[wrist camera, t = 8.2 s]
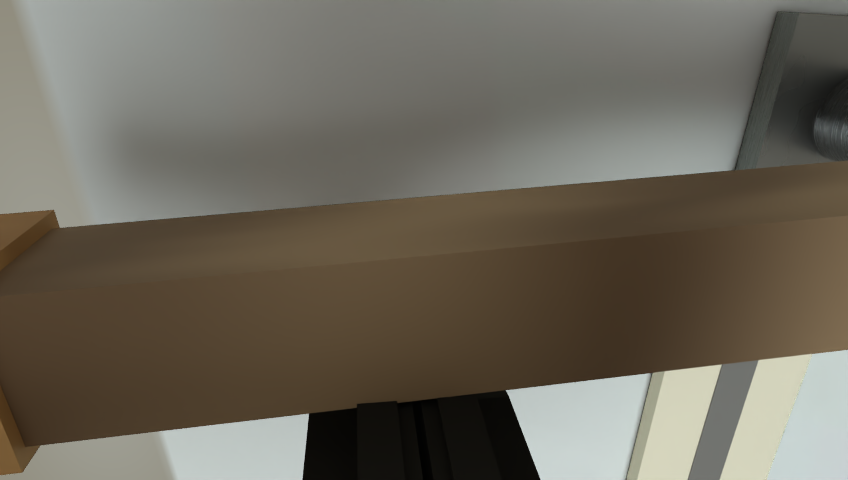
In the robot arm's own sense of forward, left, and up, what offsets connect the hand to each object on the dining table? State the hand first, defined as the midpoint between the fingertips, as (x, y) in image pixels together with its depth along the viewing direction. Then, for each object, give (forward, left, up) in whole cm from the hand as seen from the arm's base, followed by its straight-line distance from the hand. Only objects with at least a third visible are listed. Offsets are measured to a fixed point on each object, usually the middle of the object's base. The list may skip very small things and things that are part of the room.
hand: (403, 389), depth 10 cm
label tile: (+6, +12, -7) cm, 15 cm away
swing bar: (-3, +4, 0) cm, 5 cm away
